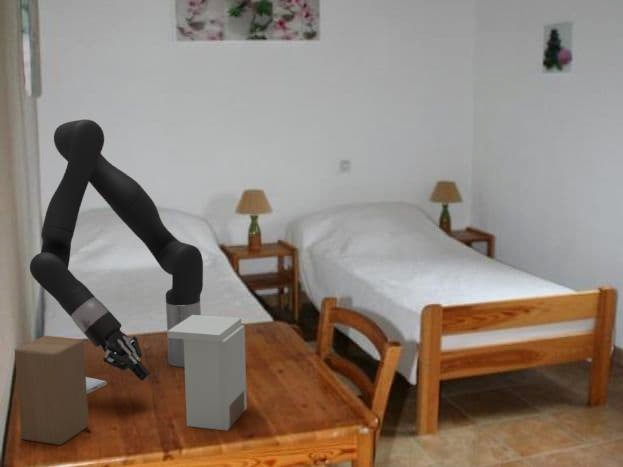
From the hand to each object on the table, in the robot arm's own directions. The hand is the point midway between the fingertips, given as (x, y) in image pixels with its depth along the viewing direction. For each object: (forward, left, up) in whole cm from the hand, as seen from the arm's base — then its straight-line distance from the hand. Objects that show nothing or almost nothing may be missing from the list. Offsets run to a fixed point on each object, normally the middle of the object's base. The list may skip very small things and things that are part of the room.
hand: (146, 377), depth 164 cm
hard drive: (-9, -25, -9) cm, 28 cm away
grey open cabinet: (0, +17, -8) cm, 18 cm away
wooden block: (+16, -13, -8) cm, 22 cm away
